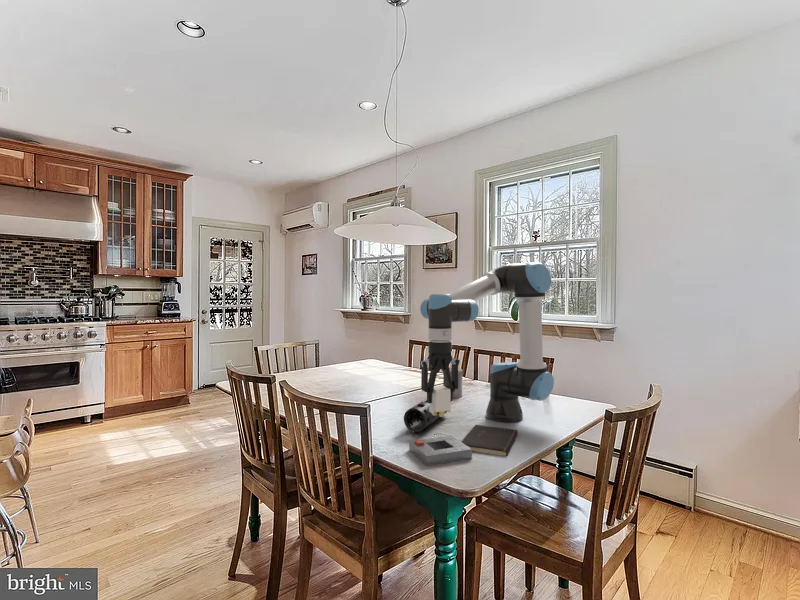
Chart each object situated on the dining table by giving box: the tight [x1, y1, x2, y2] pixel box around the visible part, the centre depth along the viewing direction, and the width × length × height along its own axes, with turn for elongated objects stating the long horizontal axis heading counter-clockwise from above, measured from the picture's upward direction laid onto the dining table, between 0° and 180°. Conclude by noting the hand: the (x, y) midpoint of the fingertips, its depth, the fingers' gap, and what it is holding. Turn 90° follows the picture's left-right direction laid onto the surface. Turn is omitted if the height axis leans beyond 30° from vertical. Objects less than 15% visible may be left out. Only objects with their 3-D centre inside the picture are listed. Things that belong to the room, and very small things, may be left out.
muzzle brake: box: [403, 398, 448, 435], centre depth 174 cm, size 10×28×10 cm, turn 154°
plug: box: [432, 385, 450, 418], centre depth 142 cm, size 5×5×9 cm
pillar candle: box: [442, 367, 463, 399], centre depth 219 cm, size 10×10×15 cm
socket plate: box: [408, 435, 473, 467], centre depth 142 cm, size 16×14×4 cm
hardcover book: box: [461, 424, 518, 457], centre depth 154 cm, size 16×23×2 cm
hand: (439, 411), depth 142 cm, fingers closed on plug, 5 cm apart
